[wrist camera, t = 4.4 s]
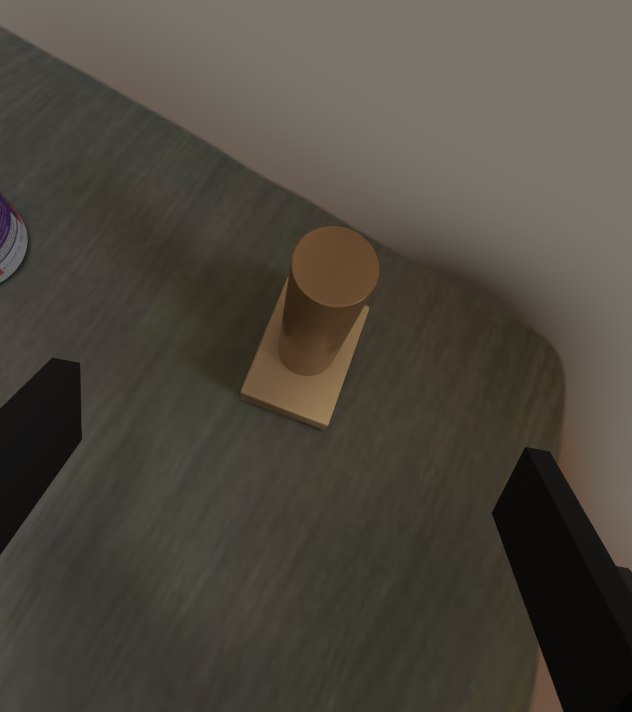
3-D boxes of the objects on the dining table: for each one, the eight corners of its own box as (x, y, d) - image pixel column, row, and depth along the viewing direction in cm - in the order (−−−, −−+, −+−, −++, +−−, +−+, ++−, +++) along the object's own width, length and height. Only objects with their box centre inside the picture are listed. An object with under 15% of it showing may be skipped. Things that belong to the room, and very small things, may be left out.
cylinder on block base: (360, 322, 28) (429, 207, 17) (321, 432, 26) (370, 383, 15) (285, 293, 28) (305, 159, 17) (240, 402, 26) (230, 330, 15)
